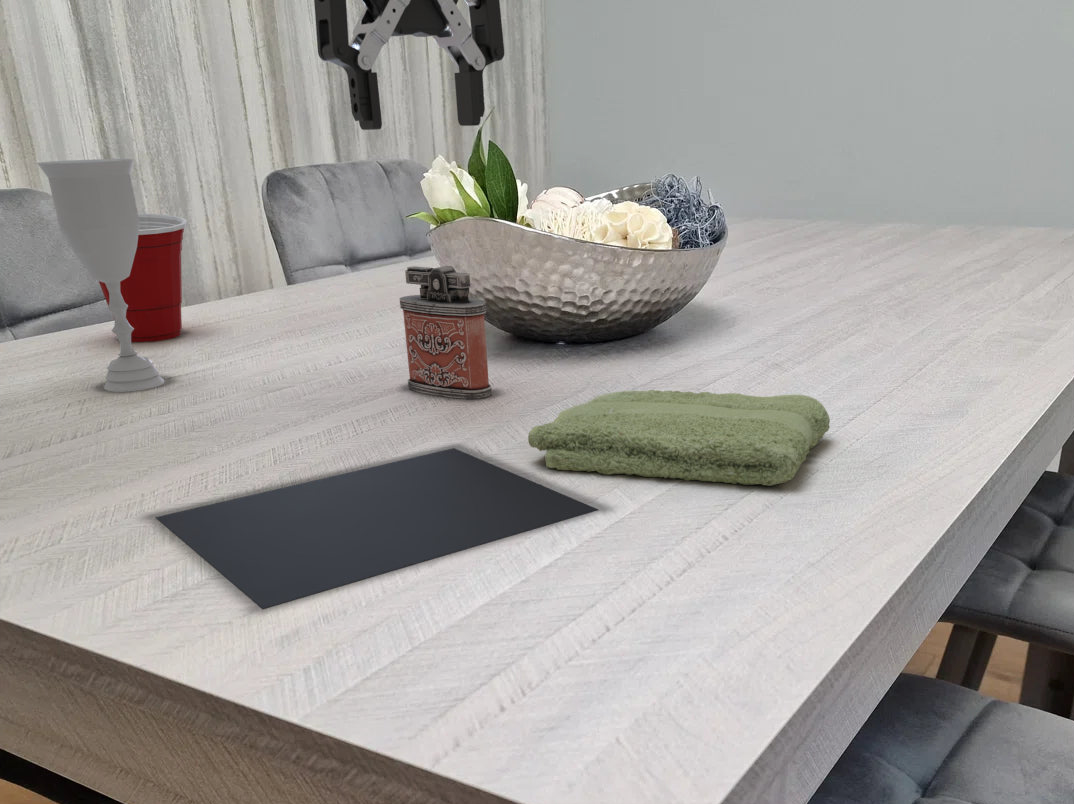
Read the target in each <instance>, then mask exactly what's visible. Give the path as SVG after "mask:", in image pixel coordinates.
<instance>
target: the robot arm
mask: <svg viewBox="0 0 1074 804" xmlns="http://www.w3.org/2000/svg"><path fill="white" fill-rule="evenodd" d="M361 1H362V3H363V4H364V9H363V10H362V12H361V15H360V17H358V18H359V19H358V20H357V22H356V24H355V26H354V28H353V31H352V35H353V36H352V38H351V40H350V39H349V28H348V27H349V25H348V24H349V23H348V9H347V8H348V7H347V0H313V4H314V18H315V31H316V45H317V54H318V57H319V58H320V59H321V60H322V61H323V62H327V63H329V62H330V63H332V64H334V65H337V66H339V67H341V68H342V69H343V70H344V71H345V72H346V75H347V76H346V77H347V80H348V81H347V82H348V90H349V98H350V99H349V100H350V108H351V109H350V110H351V115H352V117H353V119H354V121H355V122H358V124H359V127H360V129H361V130H363V131H373V130H374V131H375V130H381V129H382V126H383V120H382V119H383V118H382V110H381V102H380V101H381V99H380V89H379V81H378V72H375V71H374V72H372V68H373V67H374V64H375V62H376V60H377V59H378V57H379V54H380V53H381V51H382V48H383V46H385V45H386V44H387V43H388V42H389V41H390V39H391V37H401V36H403V37H404V36H413V37H416V38H426V37H428V38H429V37H432V39H434V41H435V43H436V44H437V45H438V47H441V48H442V49H443V50H444V51H445V53H446V54H447V56H448V57H449V58H450V60H451V61H452V63H453V64H454V66H455V68H456V70H458V72H454V87H455V100H456V112H457V114H456V115H457V122H458V124H459V125H460V126H461V127H474V126H479V125H480V124H481V121H482V119H481V118H483V117H484V115H485V110H486V109H485V108H486V107H485V96H484V94H485V93H484V92H485V90H484V77H483V76H484V75H483V74H484V70H485V68H486V67H487V66H489V65H491V64H493V63H495V62H499V61H502V60H503V58H504V56H505V44H504V43H505V42H504V35H503V34H504V33H503V23H502V13H501V4H500V0H463V1H464V2H465V3H466V4H467V6H468V12H469V13H468V14H469V20H470V25H469V23H468V22H467V19H466V18H465V17H464V15H463V14H462V12H461V11H460V9H459V8H458V6H457V4H458V2H459V0H361ZM349 40H350V42H349Z"/></svg>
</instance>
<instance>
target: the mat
mask: <svg viewBox="0 0 1074 804" xmlns="http://www.w3.org/2000/svg"><path fill="white" fill-rule="evenodd" d="M599 510H600V509H599V508H596V507H594V506H592V505H589V504H587V503H585V502H582V501H580V500H577V499H575V498H573V497H570V496H568V495H565V494H563V493H561V492H558V491H557V490H554V489H552V488H549V487H547V486H544V485H542V484H539V483H537V482H536V481H533V480H530V479H528V478H525V477H523V476H520V475H518V474H516V473H514V472H512V471H509V470H507V469H504V468H502V467H500V466H497V465H496V464H492V463H491V462H487V461H486V460H483V459H481V458H478V457H476V456H473V455H471V454H469V453H467V452H464V451H462V450H460V449H457V448H455V447H453V448H449V449H448V448H447V449H444V450H440V451H435V452H431V453H426V454H421V455H418V456H414V457H409V458H405V459H401V460H396V461H392V462H388V463H384V464H380V465H375V466H371V467H366V468H362V469H358V470H352V471H349V472H345V473H341V474H340V473H339V474H337V475H331V476H326V477H323V478H318V479H315V480H310V481H306V482H302V483H298V484H292V485H289V486H285V487H280V488H276V489H271V490H267V491H262V492H259V493H258V492H257V493H253V494H250V495H245V496H241V497H237V498H232V499H228V500H224V501H219V502H215V503H211V504H206V505H202V506H197V507H193V508H189V509H184V510H180V511H176V512H172V513H171V512H170V513H167V514H163V515H157V516H155V519H156V520H157V521H159V523H161V524H162V525H163V526H164V527H165V528H167V529H168V530H169V531H170V532H171V533H173V534H174V535H175V536H176V537H177V538H179V539H180V541H182V542H183V543H184V544H185V545H187V546H188V547H189V548H190V549H191V550H192V551H193V552H195V553H196V554H197V555H198V556H200V558H202V559H203V560H204V561H205V562H206V563H207V564H209V565H210V566H211V567H212V568H213V569H214V570H216V571H217V572H218V573H219V574H221V576H222V577H224V578H225V579H226V580H228V581H229V582H230V583H231V584H232V585H233V586H235V588H236V589H237V590H239V591H240V592H241V593H242V594H244V595H245V596H246V597H248V599H250V601H252V602H253V603H254V604H255V605H257V606H258V607H259V608H260V609H262V610H266V609H269V608H273V607H277V606H279V605H283V604H286V603H290V602H294V601H296V600H299V599H304V598H307V597H311V596H313V595H316V594H317V595H318V594H320V593H324V592H327V591H331V590H334V589H337V588H340V587H344V586H347V585H350V584H353V583H358V582H360V581H364V580H367V579H370V578H374V577H378V576H382V575H384V574H388V573H391V572H395V571H398V570H401V569H405V568H408V567H411V566H414V565H419V564H422V563H425V562H428V561H431V560H435V559H438V558H442V557H445V556H448V555H452V554H456V553H459V552H462V551H466V550H468V549H469V550H470V549H472V548H475V547H479V546H482V545H485V544H489V543H493V542H496V541H500V540H503V539H506V538H509V537H514V536H516V535H520V534H523V533H526V532H529V531H533V530H536V529H540V528H543V527H547V526H549V525H553V524H558V523H560V522H563V521H567V520H570V519H573V518H577V517H580V516H583V515H587V514H590V513H594V512H597V511H599Z"/></svg>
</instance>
